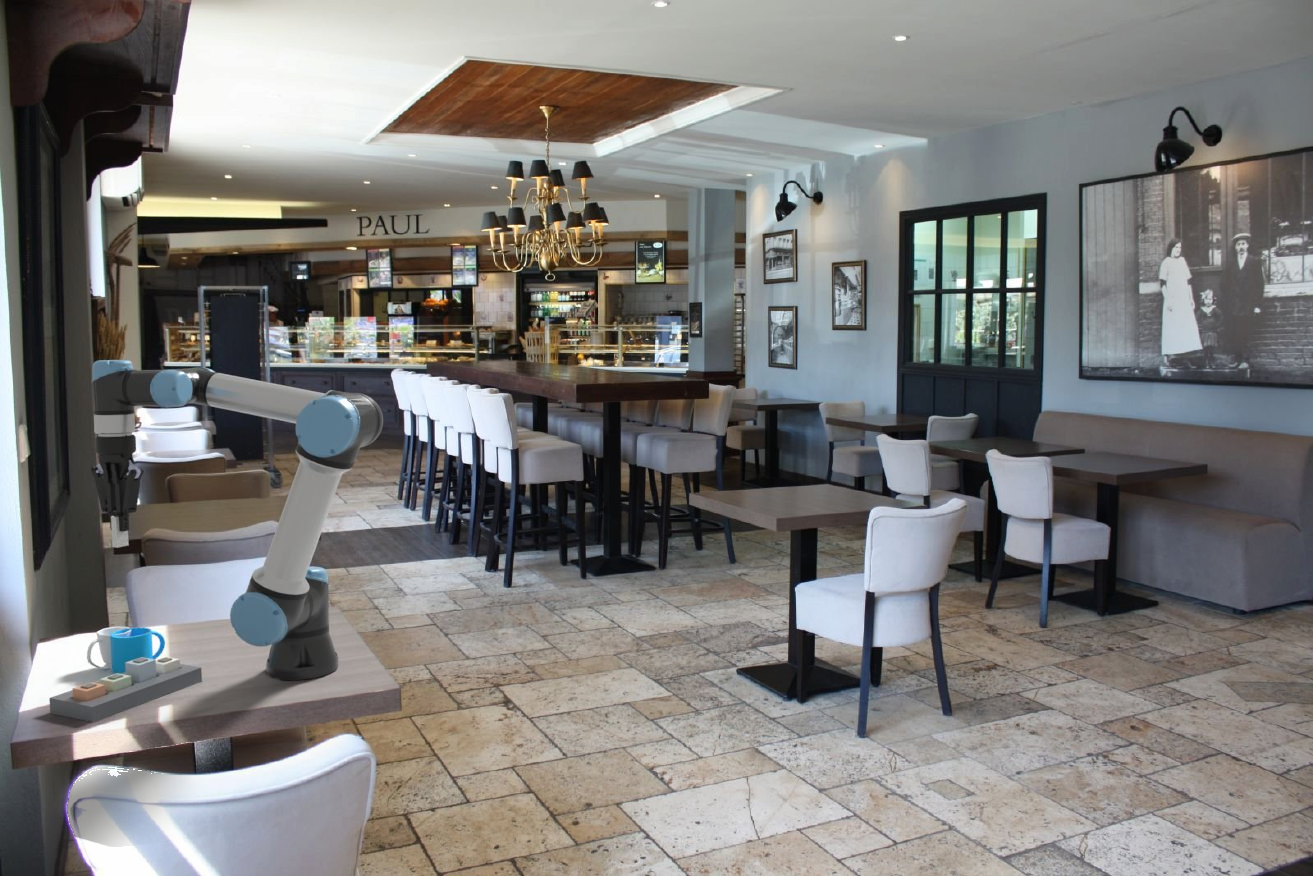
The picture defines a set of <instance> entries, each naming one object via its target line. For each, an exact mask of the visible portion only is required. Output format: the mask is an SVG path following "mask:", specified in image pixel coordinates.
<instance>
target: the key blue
mask: <svg viewBox="0 0 1313 876" xmlns="http://www.w3.org/2000/svg"><path fill="white" fill-rule="evenodd" d="M156 660H157V659H155V660H154V659H149V658H143V657H141V658H138V659H135V660H132V661H129V662H126V663H125V668H126V675H129V676H131V681H133V682H138V683H141V682H144V681H147V680H150V679H152V678H155V677H156Z"/></svg>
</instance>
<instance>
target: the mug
mask: <svg viewBox="0 0 1313 876" xmlns="http://www.w3.org/2000/svg"><path fill="white" fill-rule="evenodd" d="M129 630H132V632H131V637H118V636H115V634H121V633H125V632H127V631H129ZM153 636H155V637H157V638H158V639H159V647H158V649H157V651H156V652H155V653H154V652H153V651H154V650H153ZM110 639H111V660H112V669H111V672H112V674H113V675H114V674H116V673H118V674H121V673H124V672H126V668H125V663H126V662H129V661H132V660H135V659H138V658H141V657H143V658H149V659H154V660H157V658H159V657H160V656H161V654H163V651H164V650H165V646H166V641H165V637H164V636H163V635H162V633H160V632H158V631H154V630H152V629H151V628H148V627H129V628H128V629H122V630H118V631H115V632H113V633H111V635H110ZM153 653H154V654H153Z"/></svg>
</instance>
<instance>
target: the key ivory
mask: <svg viewBox="0 0 1313 876" xmlns="http://www.w3.org/2000/svg"><path fill="white" fill-rule="evenodd" d="M155 660H156V673H160V674H166V673H169V672H172V671H175V670H178V669H180V664H181V661H180V658H176V657H175V658H174V657H169V656H163V657H162V658H158V659H155Z"/></svg>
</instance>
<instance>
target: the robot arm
mask: <svg viewBox="0 0 1313 876" xmlns="http://www.w3.org/2000/svg"><path fill="white" fill-rule="evenodd" d="M91 372H92V375H91V376H92V377H91V387H92V396H93V425H94V427H93V429H94V430H93V431H94V434H98V435H97V436H95V437H94V441H95V442H94V444H95V453H96V454H97V455H100V457H99V459H98V464H97V465H95V466H91V467H90V472H91V474H92V476H93V478H94V482H95V486H96V491H97V496H98V501H99V504H100V510H101V512H103V513H106V514H107V515H108V516H109V528H110V531H111V544H112V545H111V546H112V548H117V549H118V548H122V547H127V546H128V547H129V545H130V544H129V530H130V522H129V521H130V515H131V514H133V513H136V512H137V510H138V509H137V508H138V501H139V493H140V486H141V479H142V477H143V475H144V473H145V472H144V468H139V467H137V466H136V465H135V460H134V457H133V455H134V453H136V452H137V437H136V435H135V434H133V433H135V432H136V422H135V419H136V418H135V407H156V408H157V407H160V408H166V409H168V408H176V407H177V408H178V407H183V406H185V405H187V404H195V405H201V406H207V407H213V408H218V409H222V410H227V411H232V412H238V413H242V414H247V415H251V416H257V417H262V418H267V419H273V420H276V421H277V420H278V421H283V422H287V423H291V424H295V435H296V437H297V441H298V442H297V445H296V448H295V453H296V456H297V458H299V462H298V463H299V464H298V467H297V469H296V472H295V475H294V477H293V480H292V484H291V487H290V489H289V492H288V495H287V498H286V501H285V503H284V506H283V509H282V512H281V515H280V517H279V520H278V524H277V526H276V529H275V532H274V535H273V538H272V540H271V543H270V546H269V549H268V552H267V554H266V557H265V560H264V564H263V565H262V566H261V567H258V568H256V569H254V570H253V572H252V574H251V578H250V580H249V581H248V585H247V588H246V591H245V592H244V593H243V594H241V595H239V596H238V597H237V599H236V600H235V601H234V602H233V603H232V605H231V607H230V612H229V618H230V623H231V627H232V628H233V630H234V631H235V634H236V635H237V636H238V637H239V638H240V639H241V640H242V641H243V642H245V643H246V644H249V645H251V646H254V647H259V648H261V647H267V646H268V647H269V646H270V645H271V646H270V649H269V655H268V658H267V660H266V662H265V663H266V664H265V667H266V668H265V670H266V673H265V674H266V675H267V676H269V677H270V678H274V679H276V680H277V679H278V680H284V681H285V680H286V681H287V680H288V681H299V680H308V679H314V678H319V677H323V676H325V675H326V676H327V675H328V674H331V673H333V672H335V671H336V670H338V668H339V654H338V653H337V652H336V650H335V646H334V643H333V639H332V637H331V634H330V611H329V610H330V604H329V601H330V600H329V599H330V598H329V596H330V595H329V592H330V591H329V585H330V582H329V581H328V580H329V578H328V577H329V576H328V571H327V570H326V569H325V568H323V567H322V566H321V567H320V566H312V565H311V562H312V559H313V556H314V554H315V551H316V550H317V549H316V548H317V546H318V543H319V541H320V537H321V534H322V532H323V528H324V525H325V524H326V522H327V521H326V520H327V518H328V515H329V512H330V509H331V506H332V504H333V500H334V499H335V495H336V493H337V490H338V487H339V484H340V482H341V479H342V476H343V474H345V473H347V472H349V471H351V470H353V468H354V465H355V463H356V459H357V457H358V454H359V452H360V449H361V448H364V447H367V446H368V445H370V444H372V443H373V442H374V441H376V440H377V439H378V437H379V436H380V434H381V432H382V429H383V425H384V416H383V415H384V414H383V412H382V409H381V407H380V406H379V404H378V403H377V402H376V401H375V400H374V399H373V398H372V397H370V396H368V395H367V394H364V393H359V392H344V391H340V390H339V391H338V390H334V389H331V390H328V391H327V392H326V393H323V392H319V391H313V390H308V389H303V388H299V387H293V386H288V385H283V384H279V383H278V384H277V383H273V382H267V381H263V380H256V379H253V378H252V379H251V378H247V377H241V376H237V375H231V374H225V373H221V372H216V371H214V370H213V369H210V368H208V367H198V366H197V367H196V366H195V367H191V368H174V369H173V368H172V369H170V368H169V369H145V370H144V369H142V370H138V369H134V366H133V362H132V361H131V360H128V359H127V360H126V359H110V360H109V359H108V360H107V359H103V360H100V359H99V360H96V361H94V362H93V363H92V371H91Z"/></svg>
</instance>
